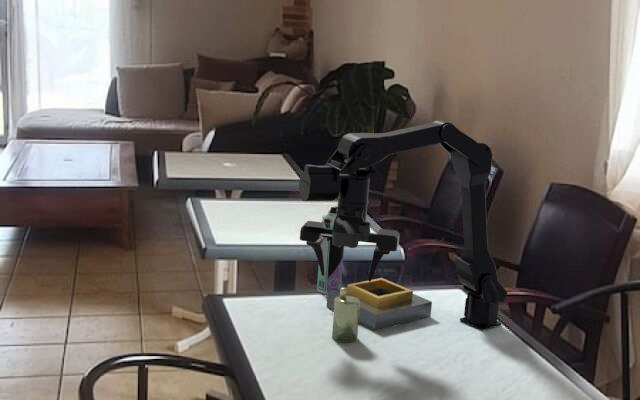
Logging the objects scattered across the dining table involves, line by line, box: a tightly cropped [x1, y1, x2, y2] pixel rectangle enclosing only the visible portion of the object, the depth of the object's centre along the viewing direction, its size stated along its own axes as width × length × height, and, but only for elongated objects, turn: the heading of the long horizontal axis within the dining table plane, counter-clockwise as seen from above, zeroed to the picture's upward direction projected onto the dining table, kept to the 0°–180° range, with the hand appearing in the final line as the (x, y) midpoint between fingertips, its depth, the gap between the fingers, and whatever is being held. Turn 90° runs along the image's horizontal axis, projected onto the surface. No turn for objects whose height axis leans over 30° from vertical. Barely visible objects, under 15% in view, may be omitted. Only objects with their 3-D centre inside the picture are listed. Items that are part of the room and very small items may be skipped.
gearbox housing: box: [326, 277, 433, 331], centre depth 176 cm, size 18×16×6 cm
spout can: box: [331, 286, 360, 344], centre depth 159 cm, size 5×5×10 cm
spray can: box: [316, 205, 345, 295], centre depth 185 cm, size 6×6×20 cm
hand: (346, 278), depth 158 cm, fingers open, 9 cm apart
